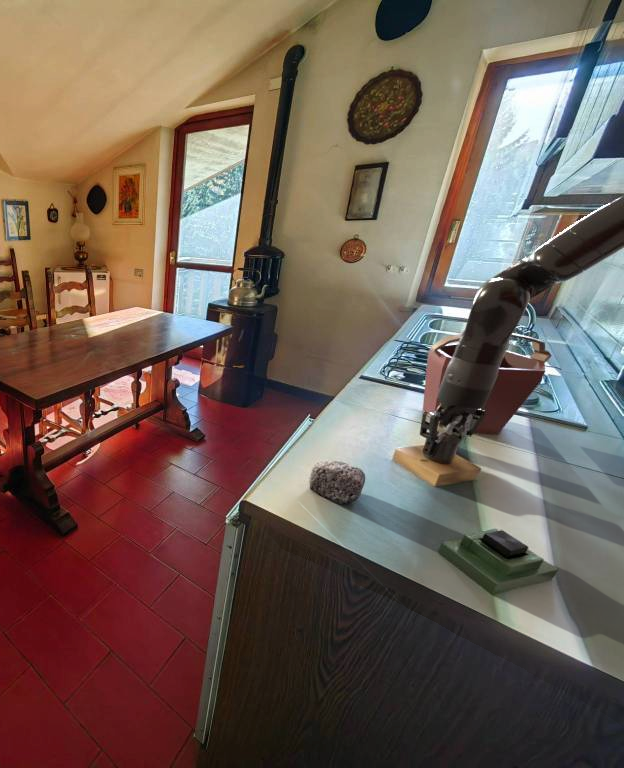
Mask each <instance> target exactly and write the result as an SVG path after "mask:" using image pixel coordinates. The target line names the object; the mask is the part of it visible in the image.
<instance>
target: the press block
mask: <svg viewBox="0 0 624 768" xmlns="http://www.w3.org/2000/svg"><path fill="white" fill-rule="evenodd" d="M494 531H499V529H497V528H491V529H486V530H480V531H475V532H470V533H466V534H463V537H462V538H458V539H453V540H448V541H444V542H441V544H440V547H439V548H438V551H437V554H439V555H440V556H441V557H443V558H444V559H445V560H446V561H448V562H449V563H450V564H451V565H452V566H454V567H455V568H456V569H457V570H459V571H460V572H461V573H463V574H464V575H466V576H467V577H468V578H469V579H471V580H472V581H473V582H475V584H477V585H478V586H479V587H481V588H482V589H483V590H484V591H486V592H487V593H488V594H489V595H491V596H492V595H497V594H501V593H505V592H508V591H513V590H517V589H521V588H525V587H529V586H533V585H538V584H541V583H546V582H549V581H553V579H554V578H555V576H556V574H557V573H558V571H559V569H558V568H557V567H556V566H554V565H552V564H551V563H549V562H547V561H546V560H545V559H544V558H543V557H541V556H539V555H537V554H536V553H534V552H533V551H532V550H530V549H529V548H528V549H527V551H526V553H525V555H524V556H520V557H515V558H511V559H506V558H505V557H503V556H502V555H501V554H499V553H498V552H496V551H495V550H493V549H492V548H490V547H489V546H487V545H486V544H485V543H483V542H482V541H481V540H482V538H483V536H484V534H485V533H489V532H494Z"/></svg>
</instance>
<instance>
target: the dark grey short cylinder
mask: <svg viewBox="0 0 624 768" xmlns="http://www.w3.org/2000/svg"><path fill="white" fill-rule="evenodd" d="M439 432H440V431H437V433H436V436H437V435H438V434H439ZM460 442H461V443H462V441H460V439H459V438H458V437H456V436H454V435H452V434H446V435H445V436H444V437H443V439H442V440H441V441H440V445H439V447H438V450H437V453H436V455H435V457H429V456H427V455H425V454H424V453H423V455H424V456H425V457H426V458H427V459H429V460H431V461H434V462H437V463H441V464H450V463H452V461H453V458H454V456H455V454H456V455H457V452H458V450H459V448H458V446H459V447H460V445H461V443H460ZM459 444H460V445H459ZM457 449H458V450H457ZM456 451H457V452H456Z"/></svg>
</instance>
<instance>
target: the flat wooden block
mask: <svg viewBox="0 0 624 768" xmlns="http://www.w3.org/2000/svg"><path fill="white" fill-rule="evenodd" d="M424 445H425V444H420V445H411V446H403V447H396V448H395V450H394V453H393V456H392V459H391V460H392V461H393V462H395V463H396V464H398V465H400V466H401V467H403V468H404V469H405V470H407V471H409V472H411V473H413V474H414V475H415V476H417V477H419V478H420V479H422V480H423V481H425V482H427V483H428V484H430V485H431V486H432V487H441V486H447V485H454V484H459V483H460V484H461V483H465V482H472V481H477V479H478V476H479V474H480V472H481V470H482V467H480V466H478V465H476V464H474V462H471V461H469V460H467V459H466V458H464V457H461V456H460V455H458V454H457V453H456V454H455V456H454V458H453V461H452V463H450V464H441V463H437V462H434V461H431V460H429V459H427V458H426V457H425V456H424V455H423V448H424Z"/></svg>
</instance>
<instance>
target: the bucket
mask: <svg viewBox="0 0 624 768" xmlns="http://www.w3.org/2000/svg"><path fill="white" fill-rule="evenodd" d="M461 335H462V333H458V334H455V335H452V336H446V337H444V338H442V339H440V340H438V341H436V342H435V343H433V344H432V345H431V346H430V347H429V351H428V354H427V361H426V370H425V382H424V392H423V403H422V410H423V412H425V411H428V412H430V413H432V412H435V411H436V409H437V408H438V406H439V405H440V400H439V399H438V397H437V393H438V390H439V388H440V385H441V382H442V380H443V377H444V374H445V372H446V369H447V366H448V364H449V362H450V361H451V359H452V357H453V355H454V352H455V349H456V346H457V344H458V341H459V339H460V337H461ZM510 338H516V339H522V340H526V341H528V342H531V347H532V350H533V353H532V354H531V355H530V356H528V355H525V354H522V353H521V354H520V353H517V352H514V351H510V350H508V349H507V350H506V353H505V355H504V357H503V360H502V362H501V365H500V368H499V372H498V376H497V378H496V381H495V383H494V385H493V388H492V390H491V392H490V395H489V397H488V399H487V402H486V404H485V406H484V407H483V408H481V409H482V410H484V411H486V415H485V416H484V418H483V419H482V421H481V423H480V424H479V426H478V428H477V429H476V431H475V432H474V434H484V435H485V434H486V435H487V434H488V435H499V434H500V432H501V431H502V430H503V429H504V427H506V425H507V424H508V423H509V421H510V420H511V419H512V418H513V417H514V416H515V414H516V413H517V412H518V410H519V409H520V408H521V407H522V406H523V404H525V402H526V401H527V399H528V398H529V397H530V396H531V394H532V393H533V392H535V390H536V389H537V387H538V386H539V385H540V384H541V381H542V379H543V377H544V375H545V373H546V365H545V363H546V362H548V361H549V359H551V357H552V354H551V352H550V351H548V350H546V342H545V341H543V340H541V339H539V338H536V337H532V336H528V335H524V334H519V333H516V332H515V333H514V332H513V334H512V335H511V337H510ZM471 426H472V424H470V427H471Z"/></svg>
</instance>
